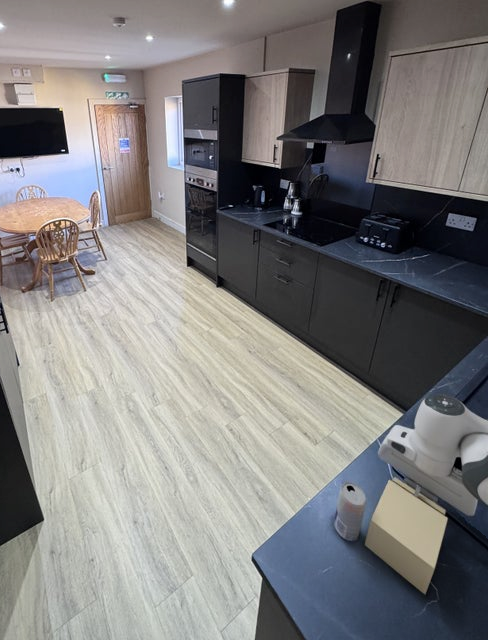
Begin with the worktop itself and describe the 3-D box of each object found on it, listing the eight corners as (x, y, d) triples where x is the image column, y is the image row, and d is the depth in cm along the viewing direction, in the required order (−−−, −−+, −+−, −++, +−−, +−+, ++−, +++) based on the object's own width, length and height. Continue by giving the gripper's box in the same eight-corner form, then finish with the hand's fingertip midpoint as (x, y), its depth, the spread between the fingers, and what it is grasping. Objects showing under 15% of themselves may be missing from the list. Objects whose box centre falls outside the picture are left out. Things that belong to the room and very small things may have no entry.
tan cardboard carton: (383, 503, 82) (389, 479, 79) (439, 543, 74) (448, 518, 71) (364, 544, 73) (370, 519, 71) (425, 595, 65) (434, 568, 63)
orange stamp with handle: (409, 524, 74) (399, 517, 76) (411, 519, 76) (401, 512, 78) (420, 489, 74) (410, 483, 76) (421, 485, 77) (412, 479, 78)
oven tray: (395, 482, 85) (399, 464, 83) (443, 514, 78) (450, 495, 76) (373, 531, 75) (378, 512, 73) (426, 573, 68) (434, 553, 66)
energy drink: (351, 515, 79) (358, 480, 75) (363, 541, 74) (371, 505, 70) (329, 516, 79) (336, 481, 75) (340, 542, 74) (347, 506, 70)
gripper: (489, 477, 73) (473, 518, 77) (389, 420, 87) (380, 457, 92) (484, 497, 69) (468, 539, 73) (380, 434, 83) (371, 472, 88)
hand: (418, 493), depth 83 cm, fingers closed, pressing on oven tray
